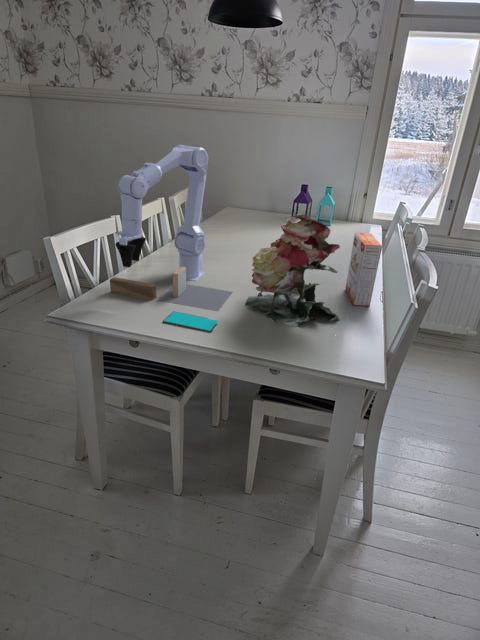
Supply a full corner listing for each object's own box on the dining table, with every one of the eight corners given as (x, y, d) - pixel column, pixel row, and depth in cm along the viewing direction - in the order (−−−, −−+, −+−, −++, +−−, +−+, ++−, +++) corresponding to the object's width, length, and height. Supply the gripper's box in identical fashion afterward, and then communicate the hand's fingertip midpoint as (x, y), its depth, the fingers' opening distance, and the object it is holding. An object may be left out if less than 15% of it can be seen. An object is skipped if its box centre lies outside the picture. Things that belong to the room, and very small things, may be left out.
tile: (181, 288, 142) (181, 266, 139) (186, 289, 142) (186, 267, 138) (173, 296, 136) (172, 273, 133) (178, 297, 136) (177, 274, 132)
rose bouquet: (289, 285, 151) (299, 200, 138) (348, 319, 130) (367, 222, 116) (227, 298, 139) (232, 206, 125) (282, 338, 117) (294, 231, 103)
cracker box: (343, 289, 152) (354, 231, 142) (360, 290, 152) (372, 232, 142) (351, 305, 139) (363, 244, 130) (370, 306, 139) (383, 245, 130)
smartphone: (211, 331, 117) (162, 321, 121) (211, 334, 118) (162, 323, 121) (220, 320, 123) (173, 310, 127) (220, 323, 124) (173, 313, 128)
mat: (178, 283, 147) (178, 282, 147) (233, 292, 143) (233, 291, 143) (157, 301, 133) (157, 300, 133) (217, 312, 129) (218, 311, 129)
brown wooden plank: (115, 291, 139) (113, 276, 137) (156, 298, 136) (156, 284, 133) (110, 293, 137) (109, 279, 135) (152, 301, 134) (152, 287, 131)
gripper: (127, 213, 131) (126, 256, 136) (108, 220, 118) (109, 267, 123) (149, 216, 131) (148, 259, 136) (133, 224, 118) (132, 271, 123)
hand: (131, 263), depth 130 cm, fingers open, 7 cm apart
